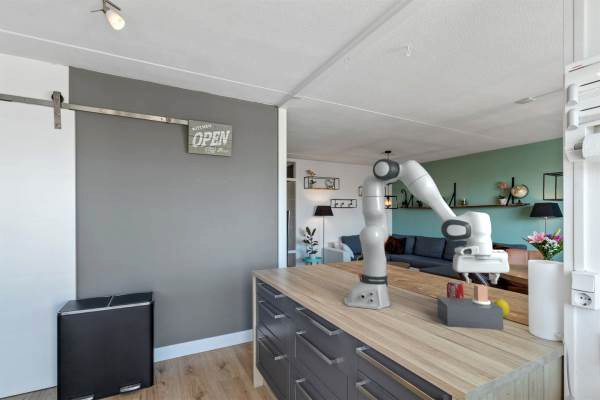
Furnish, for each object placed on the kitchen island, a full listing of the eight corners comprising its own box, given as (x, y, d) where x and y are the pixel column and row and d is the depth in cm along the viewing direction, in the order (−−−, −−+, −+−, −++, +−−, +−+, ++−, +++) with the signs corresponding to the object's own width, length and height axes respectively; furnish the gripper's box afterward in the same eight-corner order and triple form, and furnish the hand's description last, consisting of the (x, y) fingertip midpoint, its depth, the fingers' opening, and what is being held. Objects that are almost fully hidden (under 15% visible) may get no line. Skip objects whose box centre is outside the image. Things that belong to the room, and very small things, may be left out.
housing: (447, 326, 110) (447, 305, 111) (437, 315, 122) (437, 297, 123) (503, 329, 107) (502, 308, 108) (487, 318, 119) (487, 299, 119)
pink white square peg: (476, 319, 111) (475, 287, 112) (469, 313, 118) (468, 283, 118) (494, 320, 110) (493, 287, 111) (486, 314, 117) (485, 284, 117)
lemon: (505, 321, 115) (504, 301, 116) (491, 317, 120) (490, 298, 121) (512, 319, 118) (511, 299, 118) (498, 315, 123) (497, 296, 123)
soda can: (466, 310, 129) (465, 283, 130) (449, 309, 130) (449, 283, 131) (460, 305, 136) (460, 280, 136) (445, 304, 137) (444, 279, 138)
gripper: (502, 248, 117) (504, 282, 116) (450, 248, 120) (452, 281, 119) (511, 250, 111) (514, 286, 110) (456, 250, 114) (458, 284, 113)
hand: (481, 283), depth 115 cm, fingers open, 8 cm apart
